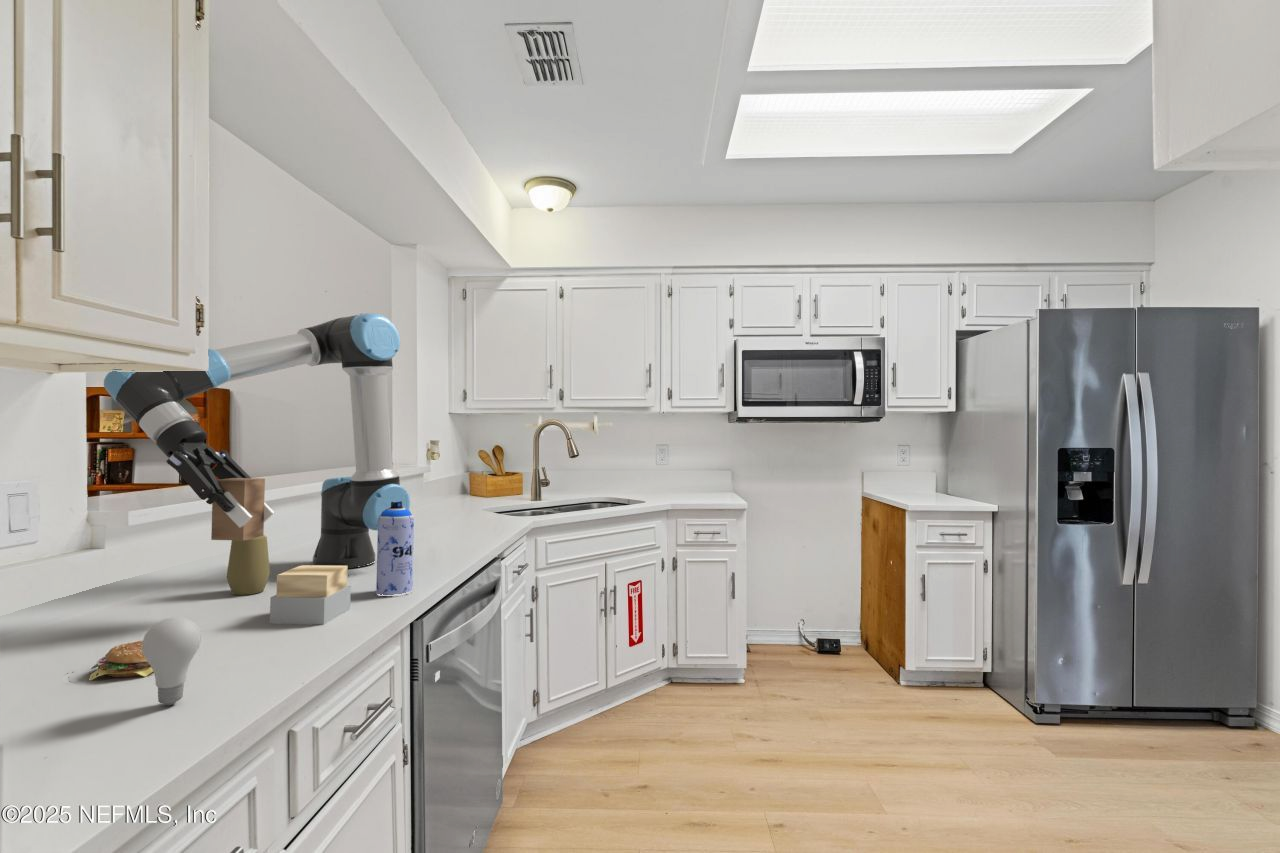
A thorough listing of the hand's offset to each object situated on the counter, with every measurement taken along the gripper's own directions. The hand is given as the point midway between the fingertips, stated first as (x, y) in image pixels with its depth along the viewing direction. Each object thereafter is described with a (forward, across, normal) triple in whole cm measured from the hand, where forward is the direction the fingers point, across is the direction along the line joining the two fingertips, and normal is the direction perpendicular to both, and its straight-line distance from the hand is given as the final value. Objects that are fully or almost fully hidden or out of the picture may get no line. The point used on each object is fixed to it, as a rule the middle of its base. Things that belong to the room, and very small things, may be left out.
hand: (257, 519), depth 120 cm
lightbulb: (+23, +38, -3) cm, 45 cm away
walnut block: (0, 0, -5) cm, 5 cm away
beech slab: (+17, -2, -2) cm, 17 cm away
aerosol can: (+26, -21, 0) cm, 33 cm away
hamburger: (+12, +27, -15) cm, 33 cm away
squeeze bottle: (+4, -18, -22) cm, 29 cm away
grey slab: (+20, -1, -6) cm, 21 cm away
